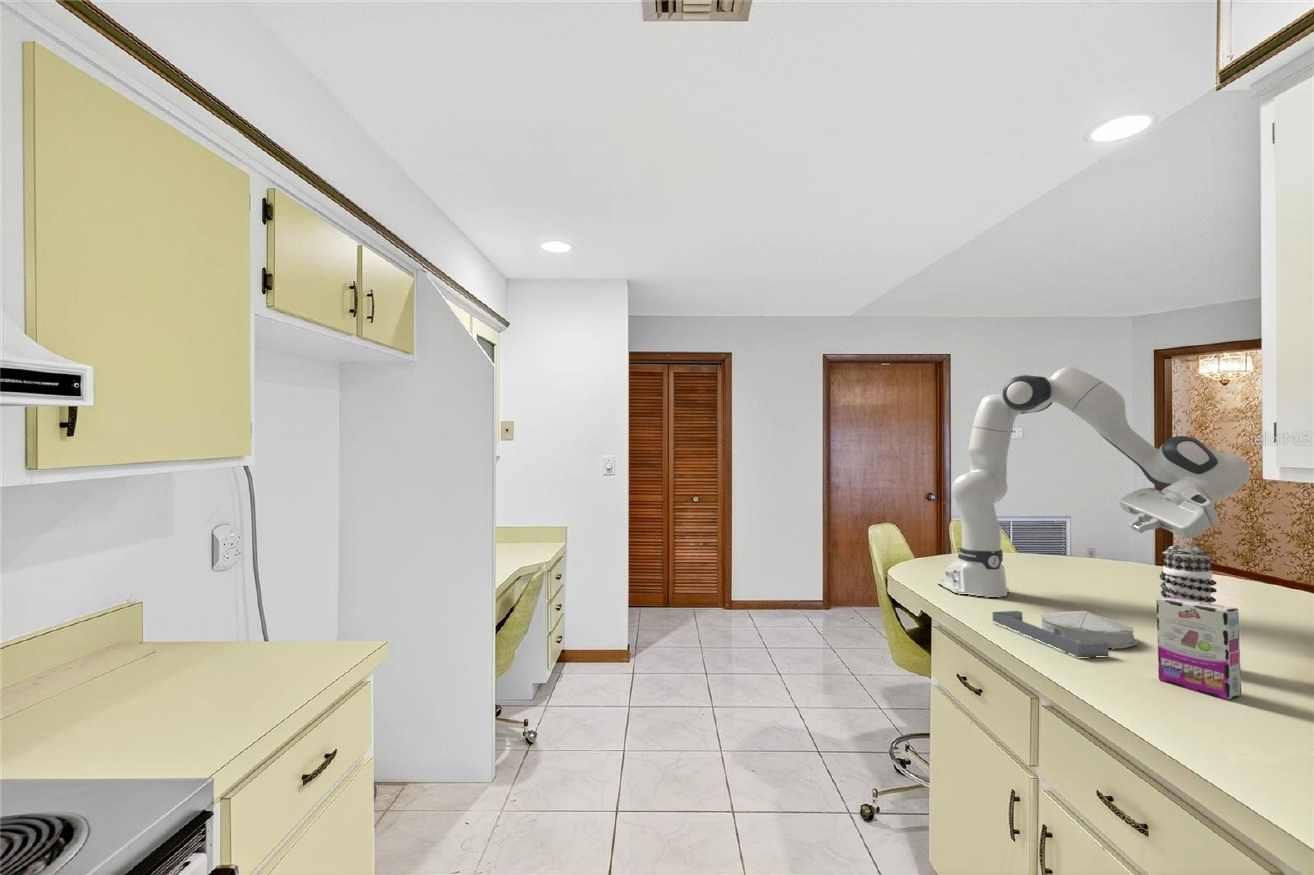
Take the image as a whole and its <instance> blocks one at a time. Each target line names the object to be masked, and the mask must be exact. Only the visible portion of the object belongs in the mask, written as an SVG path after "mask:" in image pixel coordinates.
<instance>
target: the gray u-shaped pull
mask: <svg viewBox="0 0 1314 875" xmlns="http://www.w3.org/2000/svg"><path fill="white" fill-rule="evenodd" d="M993 621H995V622H997V623H999V624H1001V625H1005V626H1007V627H1009V628H1011V629H1013V630H1016V631H1019V632H1020V633H1022V634H1025V635H1028V636H1031V637H1032V638H1034V639H1038V640H1040V641H1042V642H1044V643H1046V644H1050V645H1052V646H1054V647H1056V648H1059V649H1061V650H1063V651H1065V652H1067V653H1071V654H1073V655H1075V656H1076V657H1096V656H1110V655H1109V649H1108V643H1105V642H1103V641H1100V642H1083V643H1078V642H1075V641H1073V640H1070V639H1067V638H1065V637H1062V636H1060V635H1057V634H1054V633H1052V632H1049V631H1047V630H1044V629H1041V628H1039V627H1040V626H1039V627H1038V626H1037V625H1033V624H1031V623H1028V622H1025V621H1024V620H1023V612H1022V611H1019V610H1007V611H993V612H992V622H993Z"/></svg>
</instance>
